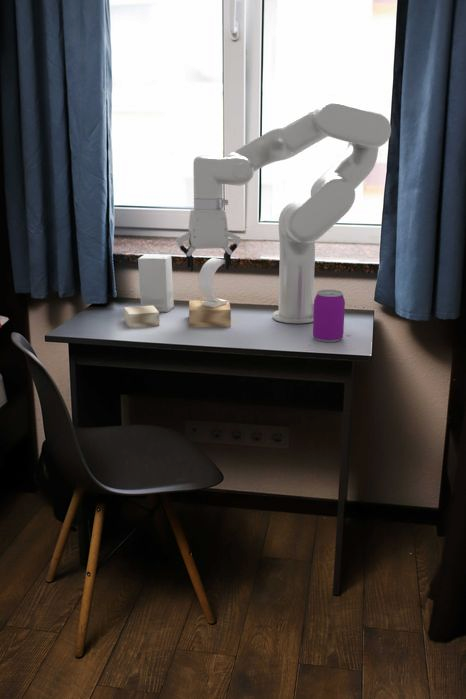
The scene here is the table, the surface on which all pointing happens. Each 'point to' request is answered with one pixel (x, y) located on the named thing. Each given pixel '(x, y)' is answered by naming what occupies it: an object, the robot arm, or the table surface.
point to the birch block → (141, 316)
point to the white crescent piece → (209, 282)
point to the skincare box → (156, 281)
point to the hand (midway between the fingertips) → (208, 269)
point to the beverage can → (328, 316)
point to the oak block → (209, 315)
